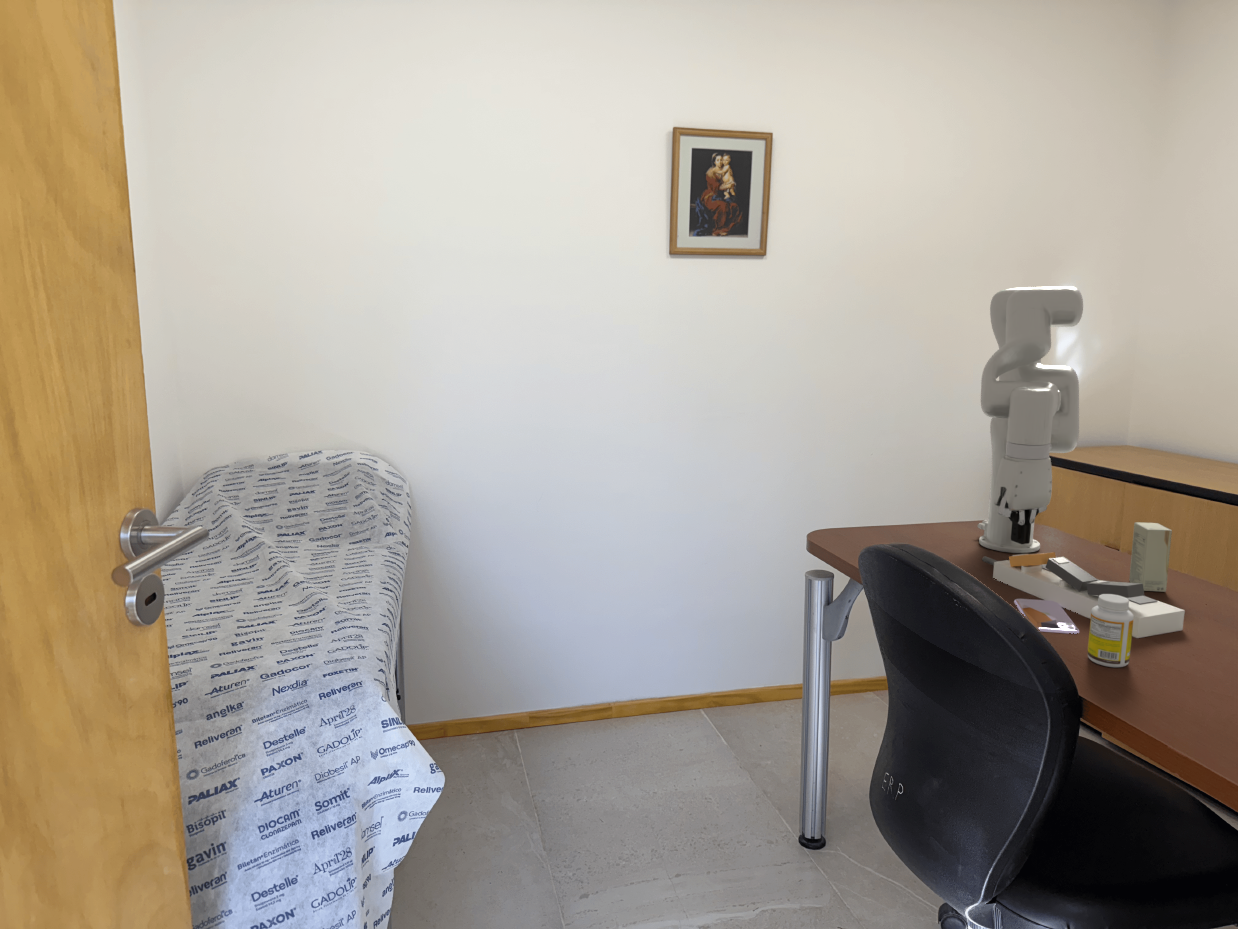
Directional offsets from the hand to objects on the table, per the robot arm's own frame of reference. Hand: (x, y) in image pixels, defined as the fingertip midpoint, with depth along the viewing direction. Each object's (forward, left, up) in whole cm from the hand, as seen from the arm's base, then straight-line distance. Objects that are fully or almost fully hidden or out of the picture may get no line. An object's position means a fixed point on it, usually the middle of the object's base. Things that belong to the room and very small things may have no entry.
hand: (1020, 541), depth 158 cm
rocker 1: (+4, 0, -2) cm, 5 cm away
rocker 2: (+13, 0, -2) cm, 13 cm away
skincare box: (+11, +21, -9) cm, 25 cm away
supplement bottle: (+34, -15, -9) cm, 38 cm away
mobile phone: (+16, -9, -9) cm, 21 cm away
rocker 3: (+22, 0, -2) cm, 22 cm away
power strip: (+9, +2, -8) cm, 12 cm away
